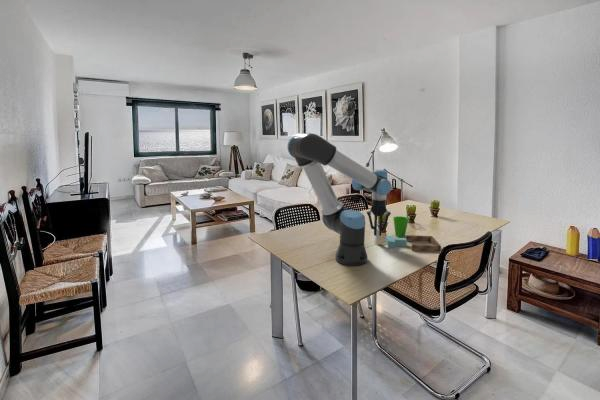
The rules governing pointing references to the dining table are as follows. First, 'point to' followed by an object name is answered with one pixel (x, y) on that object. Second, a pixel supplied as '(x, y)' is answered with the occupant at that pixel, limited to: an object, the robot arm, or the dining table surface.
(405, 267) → the dining table surface
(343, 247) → the robot arm
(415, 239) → the corral
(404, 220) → the cup
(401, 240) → the tee
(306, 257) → the dining table surface
